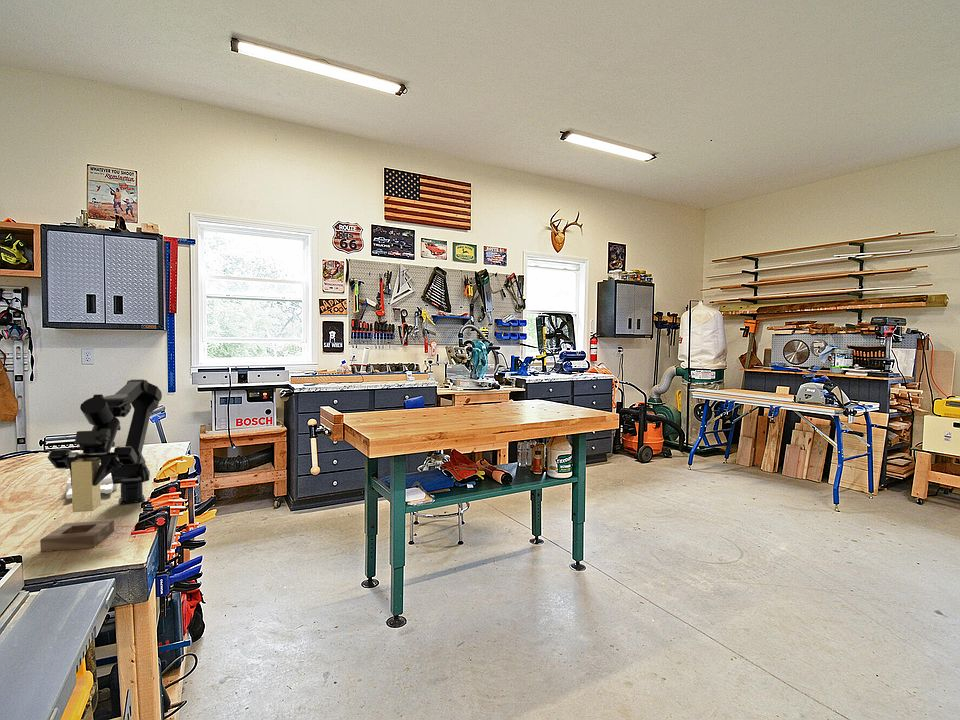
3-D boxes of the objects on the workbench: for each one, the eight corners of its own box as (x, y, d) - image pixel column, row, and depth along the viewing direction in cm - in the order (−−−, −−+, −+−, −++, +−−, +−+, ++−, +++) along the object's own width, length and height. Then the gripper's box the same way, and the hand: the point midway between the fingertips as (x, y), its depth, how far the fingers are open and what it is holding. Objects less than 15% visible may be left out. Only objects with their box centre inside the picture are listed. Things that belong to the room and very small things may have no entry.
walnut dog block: (65, 534, 129) (65, 523, 129) (114, 530, 132) (114, 519, 131) (40, 551, 118) (40, 539, 118) (94, 547, 121) (93, 535, 121)
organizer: (121, 460, 189) (114, 483, 160) (121, 473, 189) (114, 497, 160) (77, 465, 182) (62, 489, 153) (77, 478, 182) (62, 504, 153)
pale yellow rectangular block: (81, 506, 130) (80, 458, 129) (100, 505, 131) (99, 457, 131) (72, 512, 126) (71, 462, 125) (92, 511, 127) (91, 461, 126)
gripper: (50, 419, 129) (25, 472, 119) (132, 417, 134) (115, 467, 124) (67, 442, 137) (45, 494, 127) (144, 439, 142) (128, 488, 132)
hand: (83, 485), depth 127 cm, fingers closed on pale yellow rectangular block, 4 cm apart
